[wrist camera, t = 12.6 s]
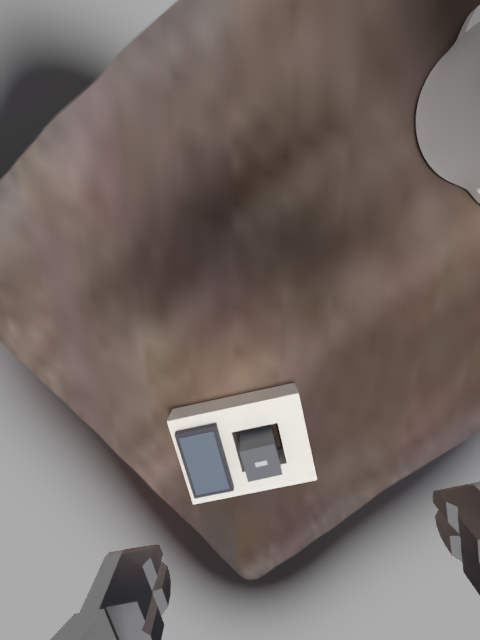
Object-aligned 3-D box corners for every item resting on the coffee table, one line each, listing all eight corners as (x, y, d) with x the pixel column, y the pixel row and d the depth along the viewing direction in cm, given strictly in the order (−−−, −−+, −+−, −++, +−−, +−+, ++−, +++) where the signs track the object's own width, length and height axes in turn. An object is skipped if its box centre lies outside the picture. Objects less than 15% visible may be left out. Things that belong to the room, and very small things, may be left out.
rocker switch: (269, 416, 40) (274, 444, 34) (276, 442, 41) (282, 475, 35) (239, 422, 41) (239, 452, 35) (247, 449, 41) (248, 482, 35)
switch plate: (294, 382, 39) (300, 396, 35) (311, 464, 42) (318, 485, 38) (172, 408, 40) (164, 425, 36) (196, 487, 43) (192, 510, 39)
